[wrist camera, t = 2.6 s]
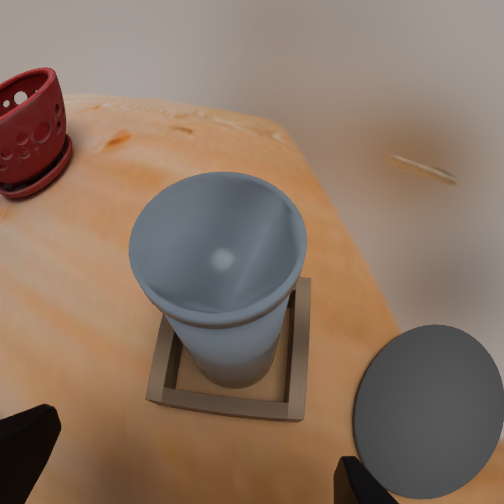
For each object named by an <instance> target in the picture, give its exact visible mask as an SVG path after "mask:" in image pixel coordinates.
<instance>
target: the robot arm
mask: <svg viewBox="0 0 504 504" xmlns="http://www.w3.org/2000/svg"><path fill="white" fill-rule="evenodd" d="M60 431H61V422H60V420H59V417H58V413H57V410H56V409H55V407H53V406H50V405H48V404H42V405H39V406H36V407H34V408H31V409H29V410H26V411H23V412H21V413H18V414H15V415H13V416H10V417H7V418H4V419H2V420H0V504H25V502H26V500H27V498H28V496H29V494H30V493H31V491H32V489H33V487H34V485H35V483H36V482H37V480H38V478H39V476H40V474H41V473H42V471H43V469H44V467H45V465H46V464H47V461H48V459H49V457H50V455H51V452H52V450H53V447H54V445H55V443H56V441H57V438H58V436H59V434H60ZM333 480H334V504H399V503H398V502H397V501H396V500H395V499H394V498H393V497H392V496H391V495H390V494H389V493H388V491H387V490H386V489H385V488H384V487H383V486H382V485H381V484H380V483H379V482H378V481H377V480H376V479H375V477H374V476H373V475H372V474H371V473H370V472H369V471H368V470H367V469H366V468H365V467H364V465H363V464H362V463H361V462H360V461H359V460H358V459H357V458H356V457H355V456H342V457H341V458H340V460H339V462H338V465H337V467H336V470H335V473H334V479H333Z"/></svg>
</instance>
